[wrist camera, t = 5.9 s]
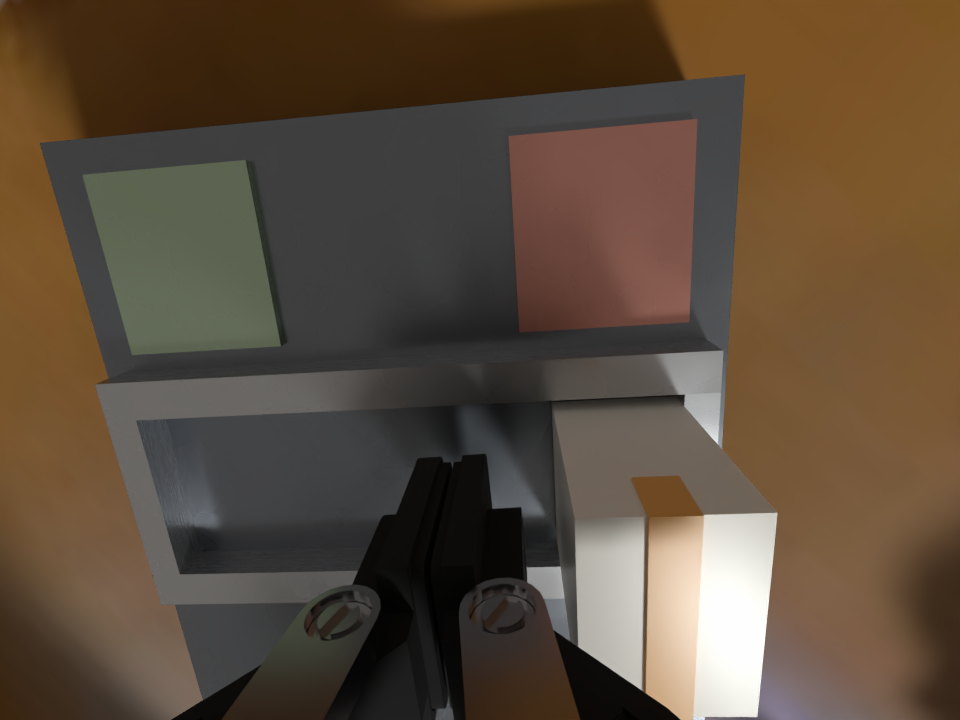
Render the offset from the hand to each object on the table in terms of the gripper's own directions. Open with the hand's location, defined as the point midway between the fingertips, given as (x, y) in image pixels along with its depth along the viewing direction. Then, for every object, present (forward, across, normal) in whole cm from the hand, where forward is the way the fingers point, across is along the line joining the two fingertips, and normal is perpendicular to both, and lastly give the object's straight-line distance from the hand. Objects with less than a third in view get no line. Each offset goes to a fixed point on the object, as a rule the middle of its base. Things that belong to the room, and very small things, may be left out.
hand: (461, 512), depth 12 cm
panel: (+5, +1, 0) cm, 5 cm away
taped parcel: (+2, -4, 0) cm, 4 cm away
